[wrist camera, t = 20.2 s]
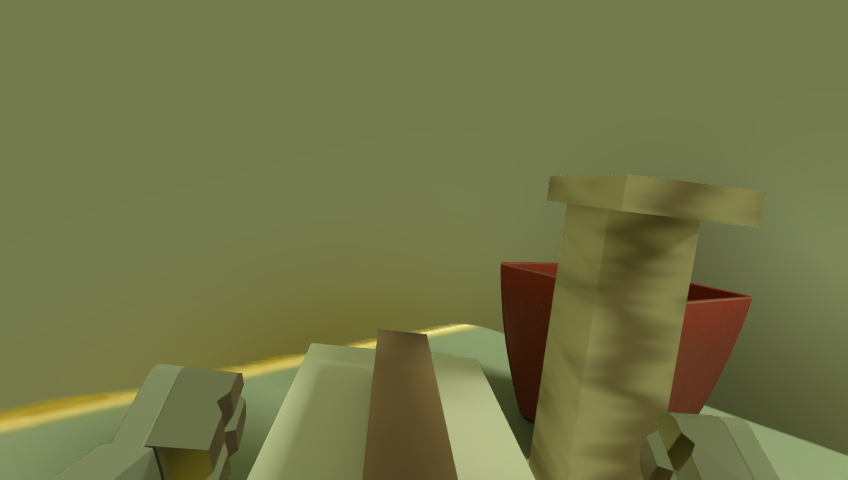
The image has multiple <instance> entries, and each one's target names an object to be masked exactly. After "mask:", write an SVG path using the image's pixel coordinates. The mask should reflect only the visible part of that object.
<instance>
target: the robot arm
mask: <svg viewBox="0 0 848 480" xmlns="http://www.w3.org/2000/svg"><path fill="white" fill-rule="evenodd" d="M243 385H244V384H243V377H242V373H234V372H226V371H217V370H209V369H200V368H192V367H184V366H174V365H164V364H156V365H155V366H154V368H152V369H151V370H150V372H149V373H148V375H147V377H146V379H145V381H144V383H143V384H142V386H141V388H140V390H139V392H138V393H137V395H136V397H135V399H134V401H133V403H132V405H131V406H130V408H129V410H128V412H127V414H126V416H125V418H124V419H123V421H122V423H121V425H120V427H119V429H118V431H117V432H116V434H115V436H114V438H113V440H112V442H111V443H110V444H104V443H101V444H100V445H98V446H97V447H96V448H94V449H93V450H92V451H90V452H89V453H87V454H86V455H85V456H83V457H82V458H80V459H79V460H78V461H76V462H75V463H73V464H72V465H71V466H69V467H68V468H66V469H65V470H64V471H62V472H61V473H59V474H58V475H57V476H55V477H54V478H53V479H51V480H228V479H229V476H230V465H229V457H230V456H231V455H233V454H234V453H235V452H236V451H237V450H238V448H239V444H240V441H241V438H242V434H243V428H244V423H245V415H246V404H245V399H244V398H242V397H241V396H240V394H241V391H242V388H243ZM655 423H656V426H657V428H658V430H657V431H655V432H653V433H651V434H649V435H648V436H646V438H645V440H644V441H643V443H642V445H641V448H640V457H639V462H640V469H641V473H642V476H643V479H644V480H780V479H779V478H778V476H777V474H776V472H775V471H774V469H773V467H772V465H771V463H770V462H769V460H768V458H767V456H766V455H765V453H764V451H763V449H762V447H761V446H760V444H759V442H758V440H757V438H756V437H755V435H754V433H753V431H752V430H751V428H750V426H749V425H748V424H747V423H746V422H745V421H744V420H743V419H738V418H728V417H714V416H713V415H700V414H687V413H674V412H666V413H663V414H661V415H660V416H659V418H658V419H657V421H656V422H655Z"/></svg>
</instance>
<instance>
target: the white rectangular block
mask: <svg viewBox="0 0 848 480" xmlns="http://www.w3.org/2000/svg"><path fill="white" fill-rule="evenodd" d="M375 354H376V349H368V348H357V347H347V346H336V345H326V344H315V343H312V344H311V345H310V347H309V350H308V352H307V354H306V356H305V358H304V360H303V362H302V364H301V366H300V369H299V371H298V373H297V375H296V377H295V379H294V381H293V383H292V385H291V388H290V390H289V392H288V394H287V396H286V398H285V400H284V402H283V404H282V406H281V409H280V411H279V413H278V415H277V417H276V419H275V421H274V423H273V425H272V428H271V430H270V432H269V434H268V436H267V438H266V440H265V442H264V444H263V446H262V449H261V451H260V453H259V455H258V457H257V459H256V461H255V463H254V465H253V468H252V470H251V472H250V474H249V476H248V478H247V480H363V470H364V460H365V451H366V441H367V431H368V421H369V411H370V401H371V391H372V381H373V372H374V363H375ZM431 357H432V362H433V366H434V371H435V375H436V380H437V385H438V389H439V394H440V399H441V403H442V408H443V412H444V417H445V422H446V426H447V431H448V435H449V440H450V445H451V449H452V454H453V458H454V463H455V468H456V472H457V477H458V480H535V478H534V476H533V474H532V472H531V469H530V467H529V465H528V463H527V461H526V459H525V457H524V455H523V453H522V451H521V449H520V447H519V445H518V443H517V441H516V439H515V436H514V434H513V432H512V430H511V428H510V426H509V424H508V422H507V420H506V418H505V416H504V414H503V412H502V410H501V408H500V406H499V403H498V401H497V399H496V397H495V395H494V393H493V391H492V389H491V387H490V385H489V383H488V381H487V379H486V377H485V375H484V373H483V370H482V368H481V366H480V364H479V362H478V360H477V359H473V358H462V357H452V356H441V355H431Z"/></svg>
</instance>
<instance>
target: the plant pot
mask: <svg viewBox="0 0 848 480" xmlns="http://www.w3.org/2000/svg"><path fill="white" fill-rule="evenodd" d="M557 268H558V263H532V262H531V263H530V262H528V263H527V262H502V263H501V296H502V313H503V324H504V333H505V341H506V348H507V354H508V360H509V366H510V371H511V376H512V381H513V385H514V390H515V394H516V399H517V402H518V406H519V410H520V413H521V415H522V416H524V417H526V418H528V419H530V420H531V421H533V422H535V418H536V411H537V404H538V397H539V390H540V384H541V377H542V370H543V363H544V356H545V350H546V343H547V336H548V329H549V322H550V316H551V309H552V302H553V295H554V288H555V282H556V275H557ZM751 300H752V297H751V296H748V295H743V294H739V293H735V292H730V291H726V290H721V289H716V288H712V287H707V286H703V285H698V284H694V283H690V285H689V291H688V297H687V303H686V308H685V314H684V320H683V326H682V331H681V337H680V343H679V349H678V354H677V360H676V366H675V372H674V377H673V383H672V389H671V394H670V400H669V406H668V412H674V413H687V414H699V413H700V411H701V409H702V408H703V406H704V404H705V402H706V401H707V399H708V397H709V395H710V394H711V392H712V390H713V388H714V386H715V384H716V382H717V380H718V378H719V377H720V375H721V372H722V371H723V369H724V367H725V364H726V362H727V360H728V358H729V356H730V353H731V352H732V349H733V347H734V345H735V342H736V340H737V338H738V335H739V333H740V331H741V328H742V326H743V323H744V321H745V318H746V315H747V312H748V309H749V306H750V303H751Z"/></svg>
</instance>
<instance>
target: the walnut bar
mask: <svg viewBox="0 0 848 480" xmlns="http://www.w3.org/2000/svg"><path fill="white" fill-rule="evenodd" d="M363 480H458V477H457V472H456V468H455V463H454V458H453V454H452V449H451V445H450V440H449V435H448V431H447V426H446V422H445V417H444V412H443V408H442V403H441V399H440V394H439V389H438V385H437V380H436V375H435V371H434V366H433V362H432V357H431V352H430V348H429V343H428V339H427V334H418V333H408V332H398V331H388V330H378V336H377V345H376V354H375V363H374V372H373V381H372V391H371V401H370V411H369V421H368V431H367V441H366V451H365V460H364V470H363Z"/></svg>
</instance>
